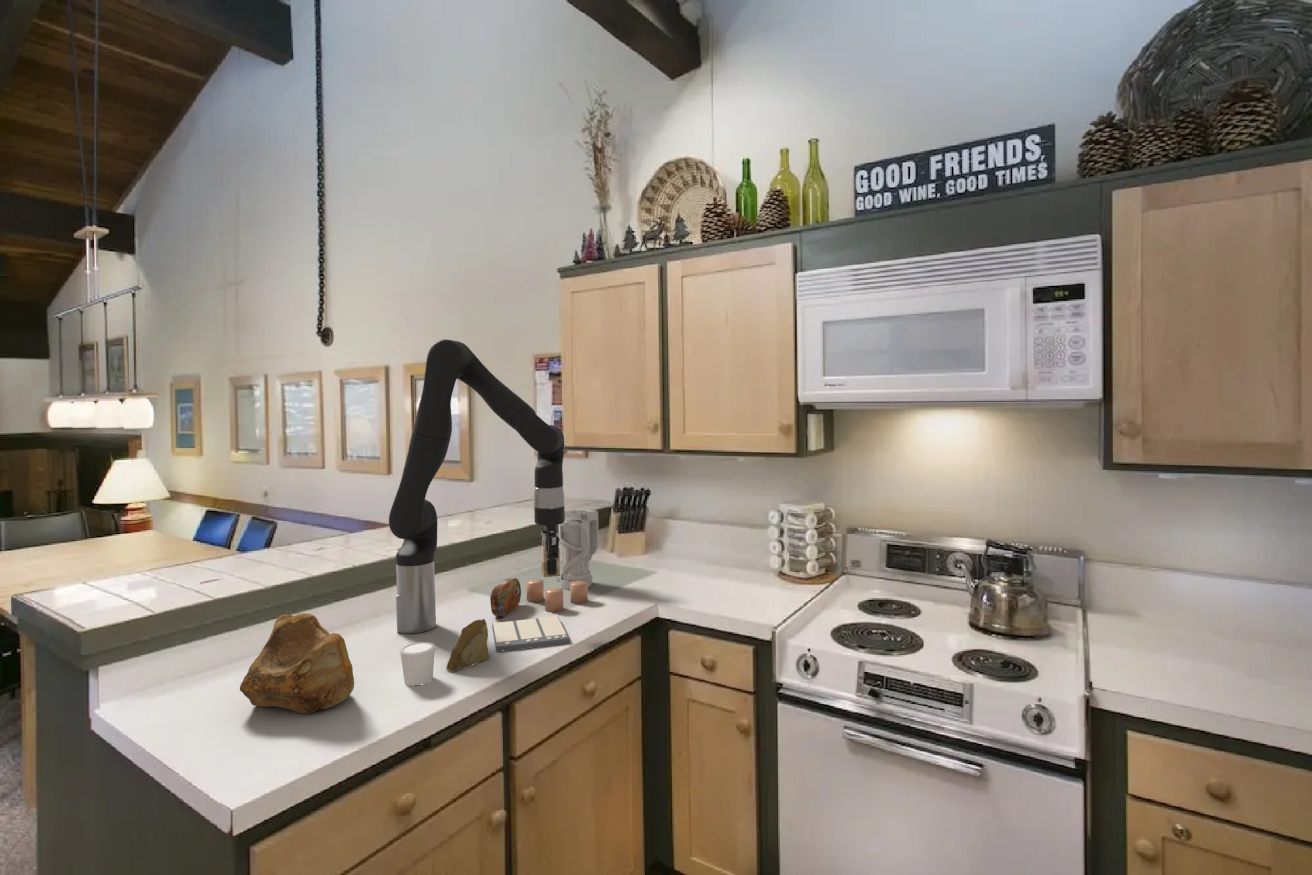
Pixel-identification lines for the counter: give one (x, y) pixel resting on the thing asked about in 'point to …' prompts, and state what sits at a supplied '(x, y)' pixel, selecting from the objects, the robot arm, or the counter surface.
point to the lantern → (578, 545)
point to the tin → (505, 597)
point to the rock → (470, 646)
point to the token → (544, 563)
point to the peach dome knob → (554, 600)
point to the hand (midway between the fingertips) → (550, 571)
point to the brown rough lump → (300, 667)
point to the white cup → (418, 663)
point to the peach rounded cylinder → (535, 590)
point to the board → (529, 633)
